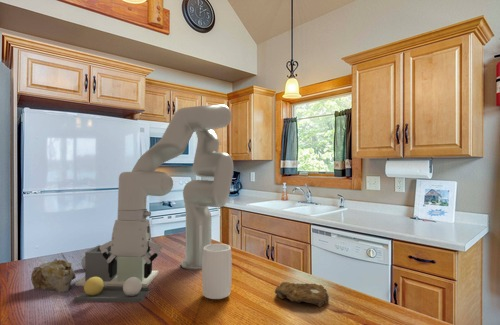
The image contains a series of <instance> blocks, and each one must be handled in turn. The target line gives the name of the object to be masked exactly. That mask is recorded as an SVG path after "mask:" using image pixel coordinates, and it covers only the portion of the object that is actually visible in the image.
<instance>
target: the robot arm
mask: <svg viewBox="0 0 500 325" xmlns="http://www.w3.org/2000/svg"><path fill="white" fill-rule="evenodd" d="M231 121H232V112H231V109H230V108H229V107H228V106H227V105H226V104H223V103H221V104H219V103H218V104H211V105H196V106H186V107H181V108H179V109H177V110H176V112H175V113H174V114H173V116H172V118H171V120H170V121H169V123H168V125H167V127H166V129H165V131H164V133H162V134H163V135H162V136H161V138H160V139H159V141H158V142H156V143H154V145H152V146H151V147H150V148H149V149H148V150H146V151H145V152H144V153H143V154H142V155H141V156H140V157H139V158H138V159H137V161H136V163H135V164H134V166H133V168H132V170H131V171H122V172H121V173H120V174H119V175H118V188H117V189H118V191H117V192H118V193H117V195H118V197H117V219H116V220H115V221H114V224H113V229H112V233H111V240H110V241H108V242H105V243H104V244H102V245H101V246H100V247H99V248H100V250H101V252H102V255H103V257H104V258H105V259H106V260H107V263H108V273H109V277H113V276H114V275H116V274H117V260H115V259H116V257H117V256H119V257H142V258H143V259H144V260H145V261H146V263H145V264H144V278H147V277H148V276H149V275H150V274H151V273H152V271H153V261H155V259H156V258H157V257H158V256H159V254H160V253H161V251H162V250H163V246H161V245H160V244H158V243H156V242H154V240H152V232H151V224H150V219H148V218H149V217H151V215H152V211H149V210H148V208H147V197H148V196H153V197H163V196H166V195H168V194H169V193H170V192H171V191H172V189H173V188H174V180H173V178H172V176H171V175H170V174H168V172H164V171H160V170H158V171H156V170H157V169H158V168H159V167H160V166H161V165H163V164H164V163H166V162H169V161H171V160H173V159H175V158H177V157H179V156H181V155H182V154H184V152H185V151H186V149H187V147H188V144H189V142H190V141H191V138H192V136H193V134H194V132H195V134H196V138H197V143H196V149H195V153H194V159H193V164H192V171H193V174H194V175H195V176H197V177H200V178H210V179H212V178H213V180H208V179H207V180H206V179H204V180H203V179H193V180H190V181H188V182H187V183H186V184H185V185H184V187H183V188H182V189H183V190H182V197H183V202H184V207H185V258H184V259H183V260H182V261H181V263H180V266H181V268H183V269H185V270H189V271H202V257H203V248H204V247H205V246H207V245H210V244H212V221H213V220H212V213H211V212H210V209H209V208H210V207H211V208H222V207H224V206H226V205H227V203H228V200H229V197H230V192H231V186H232V181H233V175H234V167H235V166H234V160H233V158H232V156H231V155H230V154H228V153H227V152H219V149H220V140H219V137H218V135H217V133H216V132H215V130H218V129H222V128H226V127H227V126H229V125H230V123H231ZM109 246H111V253H110V252H109V251H108V249H107V247H109ZM152 249H154V252H153V254H150V253H149V252H150V251H151V252H152Z"/></svg>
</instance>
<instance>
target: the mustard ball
mask: <svg viewBox="0 0 500 325" xmlns="http://www.w3.org/2000/svg"><path fill="white" fill-rule="evenodd" d="M103 287H105V286H104V282H103V280H102V279H101V278H99V277H92V278H90V279H88V280H87V281H86V283H85V285H84V286H83V292H84V291H85V293H86V294H87V295H90V296H94V295H97V294H99V293H100V292H101V291H102V289H103Z"/></svg>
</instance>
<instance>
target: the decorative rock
mask: <svg viewBox="0 0 500 325" xmlns="http://www.w3.org/2000/svg"><path fill="white" fill-rule="evenodd" d="M273 292H274V294H276V296H277V297H278V298H279V299H282V300H283V299H288V300H290V301H291V302H293V303H298V304H301V302H305V303H308V304H312V305H316V306H318V307H322V306H323V305H324V304H329V300H330V298H329V294H328V292H327V289H326V288H324V285H322V284H316V283H294V282H293V283H291V282H288V281H283V282H281V283H280V285H279V286H276V287H275V290H274V291H273Z"/></svg>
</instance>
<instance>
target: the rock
mask: <svg viewBox="0 0 500 325" xmlns="http://www.w3.org/2000/svg"><path fill="white" fill-rule="evenodd" d="M76 278H77V276H76V273H75V271H74V269H73V266H72V263H71V262H68V261H67V260H65V259H57V258H54V260H51V261H49V262H45V263H42V264H39V265H38V266H35V267H34V268H33V269H32V272H31V276H30V280H31V284H32V286H33V288H34V289H38V290H40V289H41V290H50V291H51V290H55V291H56V292H59V293H64V292H68V291H69V290H70V287H71V283H72V281H73V280H75V279H76Z"/></svg>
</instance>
